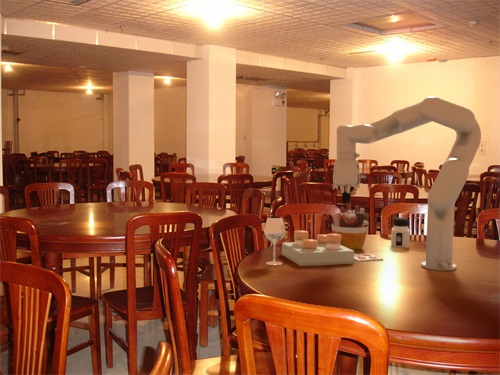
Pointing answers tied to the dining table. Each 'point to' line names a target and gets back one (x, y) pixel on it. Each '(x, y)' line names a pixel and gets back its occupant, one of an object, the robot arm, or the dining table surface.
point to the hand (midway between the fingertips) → (346, 202)
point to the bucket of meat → (351, 227)
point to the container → (400, 233)
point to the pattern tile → (366, 257)
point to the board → (317, 255)
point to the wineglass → (274, 234)
